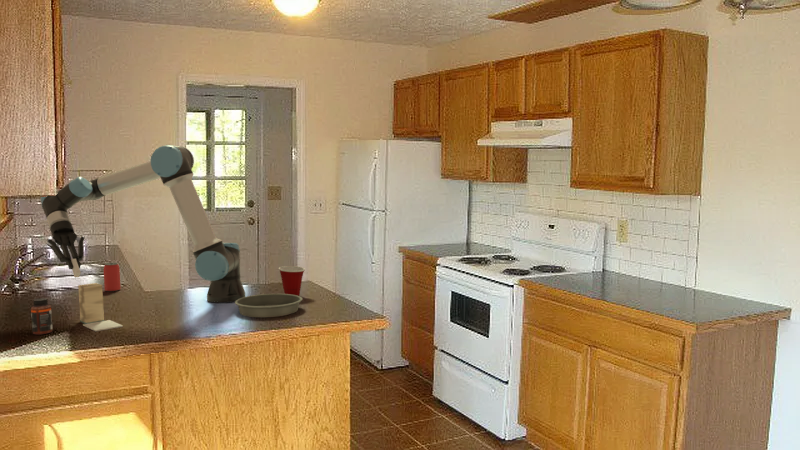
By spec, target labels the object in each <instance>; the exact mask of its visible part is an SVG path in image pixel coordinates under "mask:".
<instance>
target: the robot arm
mask: <svg viewBox="0 0 800 450" xmlns="http://www.w3.org/2000/svg"><path fill="white" fill-rule="evenodd" d="M194 164H195V158H194V155H193V153H192V152H191V151H190V150H189V149H188V148H187V147H186V146H181V145H172V144H166V145H162V146H159V147H157V148H156V149H155V150H154V151H153V152H152V155H151V157H150V161H146V162H143V163H140V164H138V165H135V166H131V167H129V168H128V167H127V168H125V169H122V170H119V171H116V172H112V173H110V174H107V175H104V176H101V177H97V178H95V179H90V180H88V179H87V178H85V177H83V176H77V177H76V178H75V179H72V180H71V181H70V182H69V183H67V184H66V185H65V186H63V187H62V188H61V189H58V194H57V195H56V196H47V197H41V196H40V202H41V209H42V210H43V212H44V215H45V218H46V221H47V224H48V227H49V231H50V233H51V236H52V238H48V240H47V243H46V245H47V246H48V247H49V248H50V249H51V250H52V251H53V253H54V254H55V256H56V257H57V259H58V260H59V262H60V263H65V265H67V267H68V269H69V270H72V274H73V276H74V278H75V279H76V278H80V277H81V273H82V272H81V270H80V269H81V265H82V264H81V261H82V260H83V258H84V241H85V237H84V236H81V237H80V236H78V235H77V234H76V233H75V230H74V227H73V224H72V221H71V219H70V216H69V213H68V210H69V209H71V208H72V207H74V206H75V205H76V204H78V203H80V202H84V201H85V202H86V201H96V200H99V199H102V198H103V197H106V196H108V195H111V194H115V193H118V192H121V191H124V190H127V189H131V188H133V187H137V186H140V185H143V184H147V183H149V182H153V181H156V180H159V179H160V180H161V182H162V184H163V186H165V187H166V188H168V189H169V190H170V193H171V195H172V197H173V199H174V201H175V204H176V206H177V208H178V211H179V214H180V216H181V218H182V220H183V223H184V225H185V227H186V229H187V231H188V233H189V234H188V235H189V237H190V239H191V242H192V244H193V246H194V247H193V249H192V253H193V256H194V258H195V264H194V268H195V271H196V273H197V275H198V276H199V277H200V278H201V279H203V280H206V281H208V282H209V283H210V284H209V287H208V291H207V293H206V300H207V302H210V303H215V304H216V303H220V304H221V303H233V302H234V303H235V301H236V300H238V299H240V298H243V297H247V296H246V291H245V288H244V285H243V283H242V279H241V257H240V256H241V253H240V252H241V250H240V245H239V244H238V243H237V242H223V240H222V239H221V238H217V236H216V234H215V232H214V229H213V227H212V223H211V222H210V220H209V217H208V215H207V213H206V211H205V208H204V206H203V204H202V201H201V199H200V196H199V195H198V192H197V190H196V188H195V185H194V183H193V180H192V179H193V176H194V173H193V170H192V169H193V167H194ZM75 242H76V243H77V249H76V246H75ZM77 250H78V251H77Z"/></svg>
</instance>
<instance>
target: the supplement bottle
mask: <svg viewBox="0 0 800 450" xmlns="http://www.w3.org/2000/svg"><path fill="white" fill-rule="evenodd" d="M30 316H31V327H32V328H31V330H32V335H36V336H37V335H38V336H39V335H47V334H50V333H52V332H53V330H54V329H53V327H54V326H53V317H52V316H53V315H52V305H50V304H49V303H48V298H47V297H41V298H34V299H33V305H32V306H31V308H30Z"/></svg>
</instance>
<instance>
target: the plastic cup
mask: <svg viewBox="0 0 800 450" xmlns="http://www.w3.org/2000/svg"><path fill="white" fill-rule="evenodd" d="M278 270H279V274H280V278H281V283H282V289H283V294H291V295H297V296H300V295H301V294H300V293H301V288H302V283H303V281H302V280H303V276H304V273H305V271H306V268H305V267H302V266H295V265H291V266H289V265H287V266H286V265H283V266H279V267H278Z"/></svg>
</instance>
